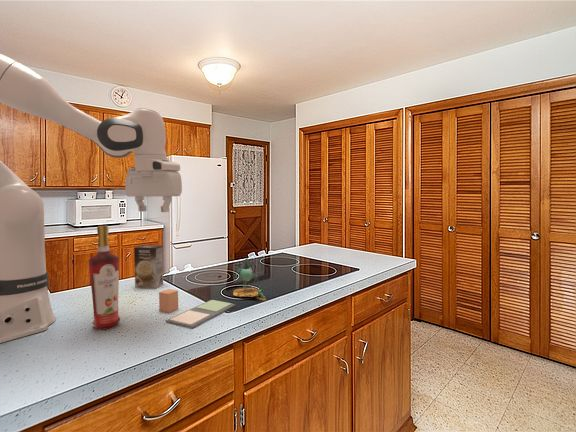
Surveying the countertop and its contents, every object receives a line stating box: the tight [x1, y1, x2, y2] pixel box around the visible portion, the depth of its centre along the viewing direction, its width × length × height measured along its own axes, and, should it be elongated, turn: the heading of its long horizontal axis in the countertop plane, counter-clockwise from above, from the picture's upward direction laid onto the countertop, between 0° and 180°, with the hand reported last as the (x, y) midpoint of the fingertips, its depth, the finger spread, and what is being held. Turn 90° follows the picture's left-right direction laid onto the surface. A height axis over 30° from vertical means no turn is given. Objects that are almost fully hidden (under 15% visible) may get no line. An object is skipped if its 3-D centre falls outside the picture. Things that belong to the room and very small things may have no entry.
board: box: [165, 299, 236, 329], centre depth 101 cm, size 20×10×1 cm, turn 154°
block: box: [158, 288, 179, 314], centre depth 105 cm, size 4×4×6 cm
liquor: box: [88, 225, 121, 330], centre depth 91 cm, size 7×7×28 cm
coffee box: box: [133, 244, 164, 290], centre depth 130 cm, size 9×6×16 cm
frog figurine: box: [232, 257, 267, 302], centre depth 119 cm, size 10×18×15 cm, turn 35°
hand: (153, 211), depth 100 cm, fingers open, 8 cm apart
